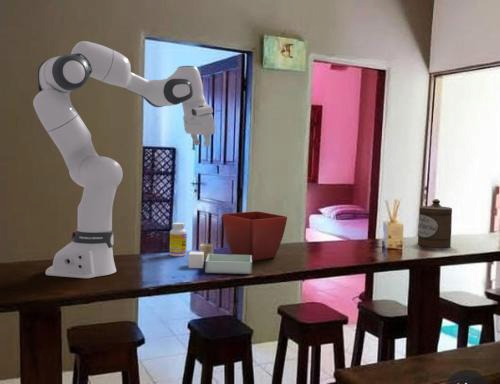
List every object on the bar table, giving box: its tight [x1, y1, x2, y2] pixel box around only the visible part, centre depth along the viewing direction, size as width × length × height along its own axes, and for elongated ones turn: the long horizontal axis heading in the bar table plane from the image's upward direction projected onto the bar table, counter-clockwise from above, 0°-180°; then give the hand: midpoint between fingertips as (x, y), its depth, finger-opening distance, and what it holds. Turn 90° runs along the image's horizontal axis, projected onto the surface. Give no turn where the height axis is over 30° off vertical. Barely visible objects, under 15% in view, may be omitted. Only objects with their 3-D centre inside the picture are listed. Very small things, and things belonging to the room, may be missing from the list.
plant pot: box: [222, 210, 288, 262], centre depth 210 cm, size 19×19×17 cm
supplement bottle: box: [169, 222, 188, 257], centre depth 209 cm, size 7×7×13 cm
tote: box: [204, 253, 253, 275], centre depth 188 cm, size 16×13×4 cm
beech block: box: [199, 243, 215, 263], centre depth 202 cm, size 5×5×6 cm
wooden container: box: [417, 198, 453, 249], centre depth 251 cm, size 15×15×22 cm
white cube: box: [188, 251, 205, 269], centre depth 191 cm, size 5×5×5 cm
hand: (202, 145), depth 201 cm, fingers open, 8 cm apart
